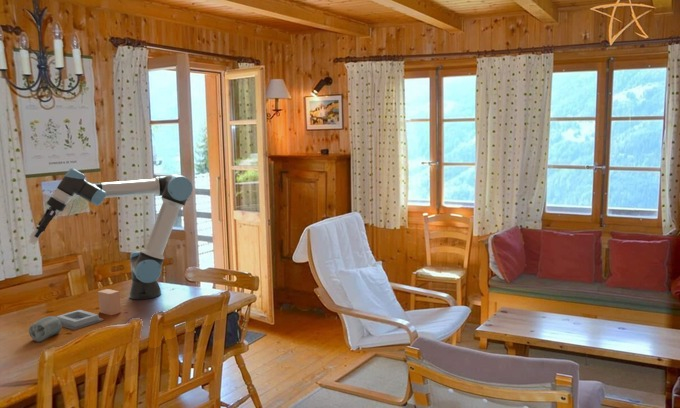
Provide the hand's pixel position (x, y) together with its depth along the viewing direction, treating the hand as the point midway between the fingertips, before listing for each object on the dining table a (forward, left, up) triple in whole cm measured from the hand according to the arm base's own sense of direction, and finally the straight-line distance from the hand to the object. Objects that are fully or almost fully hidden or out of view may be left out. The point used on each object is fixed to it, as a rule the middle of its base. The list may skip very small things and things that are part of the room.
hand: (31, 240), depth 262 cm
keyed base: (-6, +20, -36) cm, 42 cm away
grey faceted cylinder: (+12, +27, -36) cm, 47 cm away
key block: (-22, +20, -36) cm, 47 cm away
